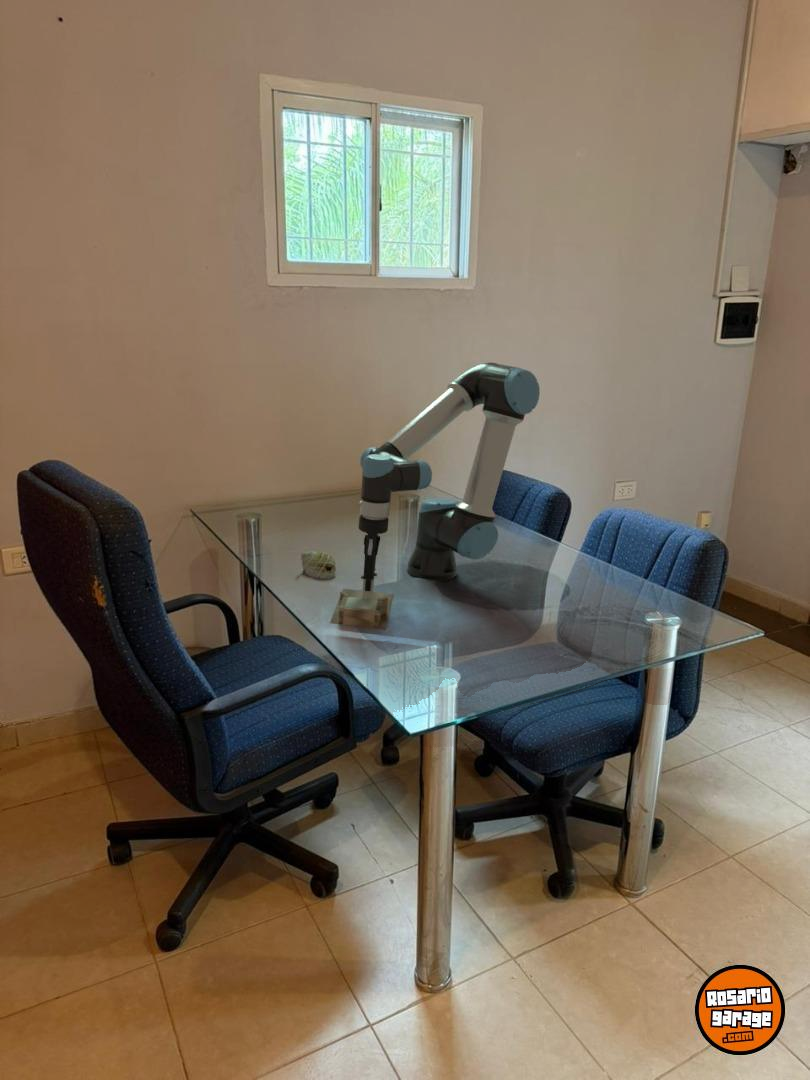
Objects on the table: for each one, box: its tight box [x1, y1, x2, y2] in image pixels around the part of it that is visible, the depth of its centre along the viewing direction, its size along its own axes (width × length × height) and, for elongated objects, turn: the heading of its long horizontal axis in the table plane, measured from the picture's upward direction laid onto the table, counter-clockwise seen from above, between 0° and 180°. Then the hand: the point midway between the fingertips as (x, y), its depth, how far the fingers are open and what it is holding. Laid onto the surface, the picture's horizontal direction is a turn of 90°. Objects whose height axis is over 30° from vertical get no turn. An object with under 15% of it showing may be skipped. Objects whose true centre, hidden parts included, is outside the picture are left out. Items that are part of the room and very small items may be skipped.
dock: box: [329, 588, 394, 631], centre depth 194 cm, size 14×23×6 cm, turn 177°
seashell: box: [300, 550, 337, 580], centre depth 215 cm, size 10×10×10 cm
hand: (367, 600), depth 198 cm, fingers closed
